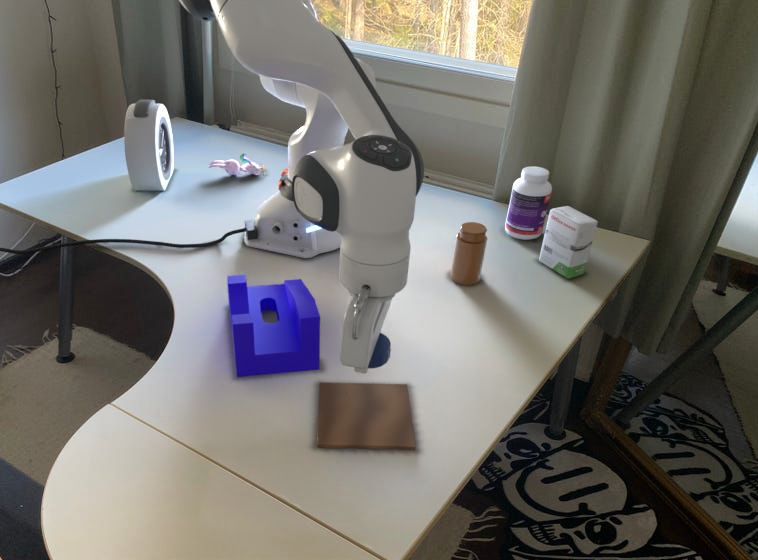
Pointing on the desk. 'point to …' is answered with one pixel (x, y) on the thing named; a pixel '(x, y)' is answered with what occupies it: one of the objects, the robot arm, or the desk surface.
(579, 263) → the ink box
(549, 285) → the desk surface
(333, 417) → the coaster
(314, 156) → the robot arm
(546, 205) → the pill bottle
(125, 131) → the alarm clock
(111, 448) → the desk surface
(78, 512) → the desk surface
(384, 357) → the lid
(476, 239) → the jar
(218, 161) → the rabbit figure
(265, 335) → the bracket
